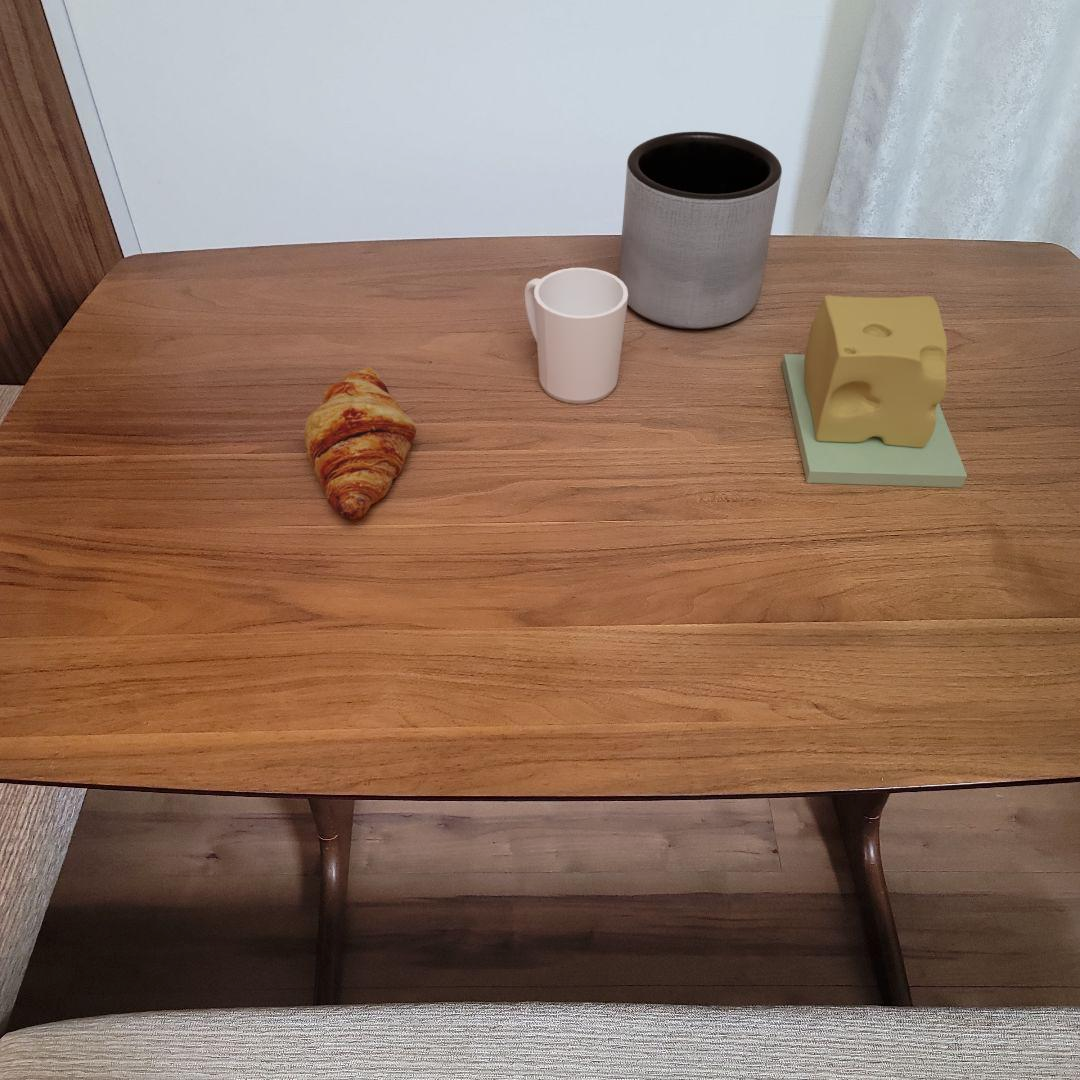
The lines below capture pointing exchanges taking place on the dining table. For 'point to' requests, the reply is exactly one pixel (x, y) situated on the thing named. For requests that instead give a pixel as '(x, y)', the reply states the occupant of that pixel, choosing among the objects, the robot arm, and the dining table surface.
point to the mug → (577, 332)
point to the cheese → (876, 369)
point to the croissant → (357, 442)
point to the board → (869, 449)
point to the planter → (697, 227)
